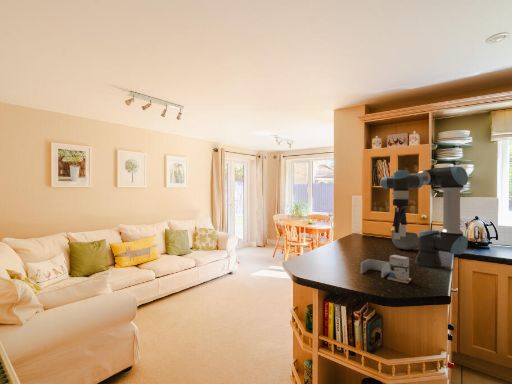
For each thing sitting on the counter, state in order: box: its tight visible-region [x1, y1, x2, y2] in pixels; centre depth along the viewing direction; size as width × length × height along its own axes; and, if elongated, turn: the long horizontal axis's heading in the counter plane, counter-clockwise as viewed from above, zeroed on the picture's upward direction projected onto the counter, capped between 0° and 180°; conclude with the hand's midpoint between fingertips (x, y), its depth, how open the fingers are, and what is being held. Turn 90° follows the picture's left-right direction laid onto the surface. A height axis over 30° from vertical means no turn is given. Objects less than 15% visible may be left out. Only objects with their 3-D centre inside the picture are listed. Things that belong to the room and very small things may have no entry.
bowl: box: [391, 231, 419, 251], centre depth 235 cm, size 20×20×15 cm
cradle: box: [360, 258, 390, 279], centre depth 158 cm, size 14×12×6 cm
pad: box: [386, 276, 412, 284], centre depth 146 cm, size 9×10×1 cm
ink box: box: [388, 254, 410, 281], centre depth 146 cm, size 8×5×12 cm, turn 37°
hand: (400, 237), depth 147 cm, fingers open, 13 cm apart
